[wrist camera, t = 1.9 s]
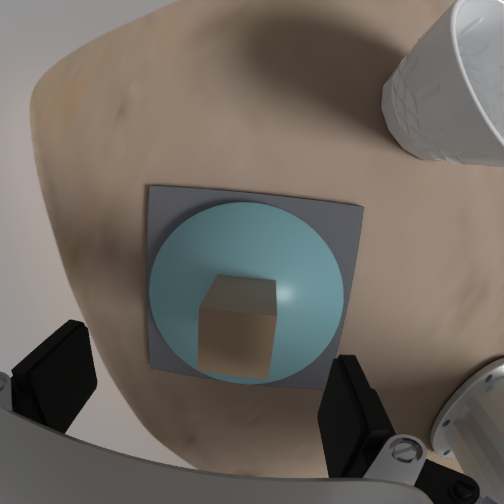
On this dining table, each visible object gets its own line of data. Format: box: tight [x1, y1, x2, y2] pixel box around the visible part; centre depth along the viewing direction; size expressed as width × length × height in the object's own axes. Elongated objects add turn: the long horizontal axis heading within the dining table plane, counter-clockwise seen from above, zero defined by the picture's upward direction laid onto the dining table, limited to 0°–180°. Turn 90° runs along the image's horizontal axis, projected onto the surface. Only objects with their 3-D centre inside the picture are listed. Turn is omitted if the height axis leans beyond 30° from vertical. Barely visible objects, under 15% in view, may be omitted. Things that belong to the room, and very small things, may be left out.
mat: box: [147, 186, 364, 389], centre depth 19 cm, size 13×13×1 cm
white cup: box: [381, 0, 504, 167], centre depth 11 cm, size 8×8×10 cm
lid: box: [149, 202, 344, 384], centre depth 16 cm, size 12×12×6 cm
